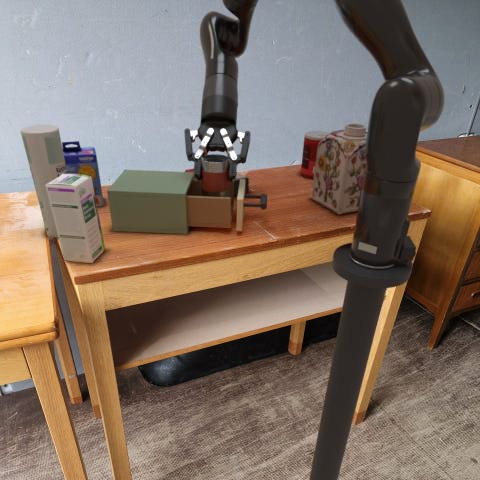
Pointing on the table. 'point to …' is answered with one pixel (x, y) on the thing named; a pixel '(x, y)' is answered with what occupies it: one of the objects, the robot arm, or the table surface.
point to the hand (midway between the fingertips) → (214, 179)
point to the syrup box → (76, 217)
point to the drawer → (218, 206)
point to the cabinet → (150, 201)
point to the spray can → (44, 165)
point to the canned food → (311, 152)
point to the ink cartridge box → (84, 165)
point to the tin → (215, 175)
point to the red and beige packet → (236, 181)
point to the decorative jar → (341, 169)
